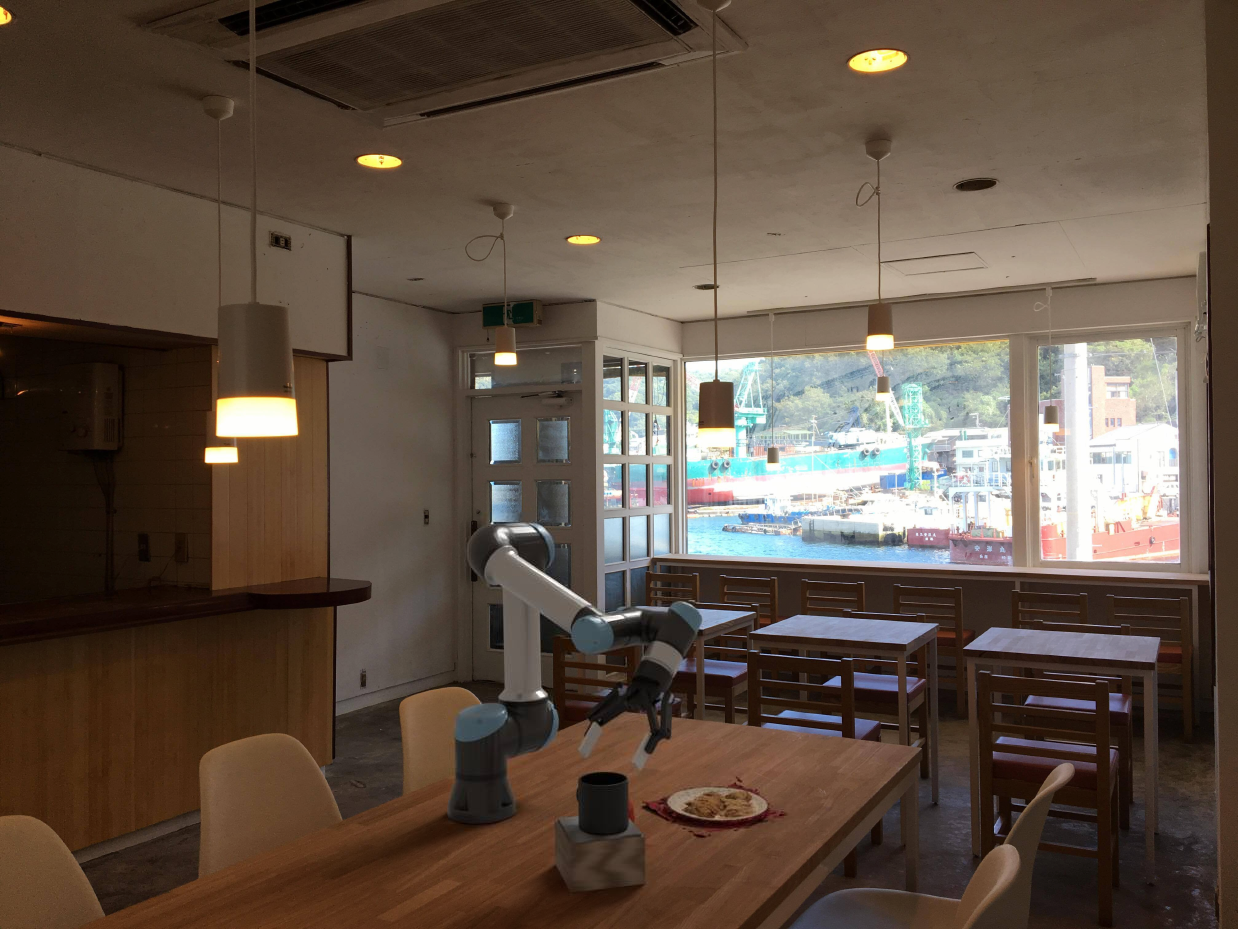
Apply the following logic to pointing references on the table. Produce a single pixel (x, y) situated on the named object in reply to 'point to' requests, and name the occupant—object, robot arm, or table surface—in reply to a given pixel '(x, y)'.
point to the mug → (603, 803)
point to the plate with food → (715, 807)
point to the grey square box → (598, 857)
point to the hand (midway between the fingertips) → (608, 760)
